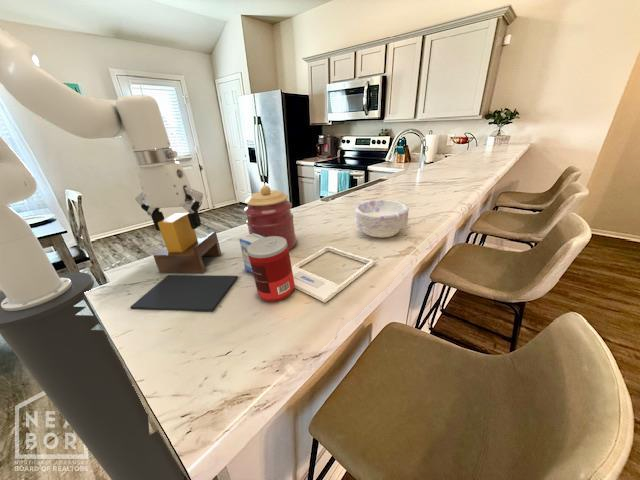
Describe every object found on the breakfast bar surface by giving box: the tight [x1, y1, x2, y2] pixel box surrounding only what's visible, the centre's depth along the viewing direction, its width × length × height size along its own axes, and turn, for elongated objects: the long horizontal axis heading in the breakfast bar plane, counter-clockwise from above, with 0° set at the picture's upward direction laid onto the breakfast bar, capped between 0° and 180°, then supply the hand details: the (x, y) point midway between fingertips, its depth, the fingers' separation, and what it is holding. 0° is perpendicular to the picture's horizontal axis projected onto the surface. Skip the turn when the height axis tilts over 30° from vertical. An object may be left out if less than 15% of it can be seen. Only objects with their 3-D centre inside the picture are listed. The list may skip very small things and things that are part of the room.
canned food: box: [247, 236, 295, 302], centre depth 53 cm, size 8×8×11 cm
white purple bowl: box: [354, 199, 409, 239], centre depth 79 cm, size 15×15×8 cm
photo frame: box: [291, 245, 375, 304], centre depth 61 cm, size 15×1×18 cm
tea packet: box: [158, 212, 198, 252], centre depth 67 cm, size 4×7×8 cm, turn 173°
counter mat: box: [129, 274, 238, 313], centre depth 58 cm, size 18×12×1 cm, turn 83°
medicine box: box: [238, 233, 264, 274], centre depth 62 cm, size 8×4×9 cm, turn 49°
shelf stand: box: [152, 230, 222, 274], centre depth 69 cm, size 12×10×7 cm
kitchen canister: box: [243, 185, 297, 251], centre depth 73 cm, size 13×13×18 cm
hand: (179, 227), depth 67 cm, fingers open, 9 cm apart
